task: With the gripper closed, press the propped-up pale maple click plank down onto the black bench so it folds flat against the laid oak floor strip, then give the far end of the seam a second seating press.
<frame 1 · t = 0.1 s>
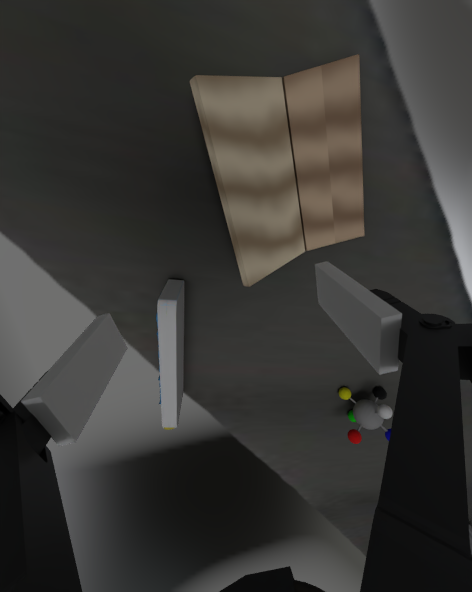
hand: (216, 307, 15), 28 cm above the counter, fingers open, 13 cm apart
floor strip: (292, 176, 38), on the counter
molecular model: (356, 396, 60), on the counter
plank: (261, 187, 34), point 5 cm above the counter, hinge at 38.0°
decorative sign: (174, 350, 50), on the counter
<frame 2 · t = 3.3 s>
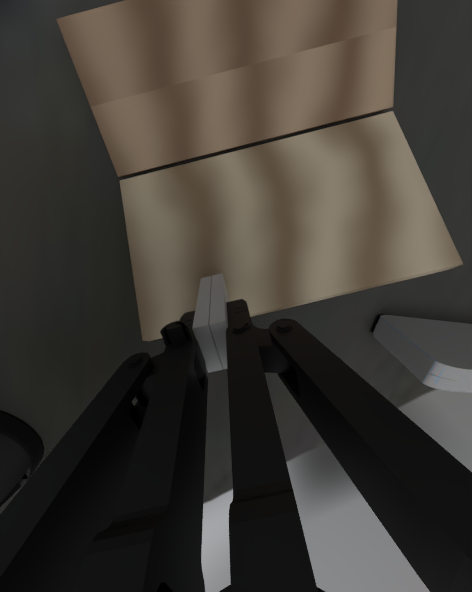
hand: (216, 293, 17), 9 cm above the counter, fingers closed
floor strip: (252, 148, 22), on the counter
plank: (275, 222, 20), point 5 cm above the counter, hinge at 37.2°, touching gripper
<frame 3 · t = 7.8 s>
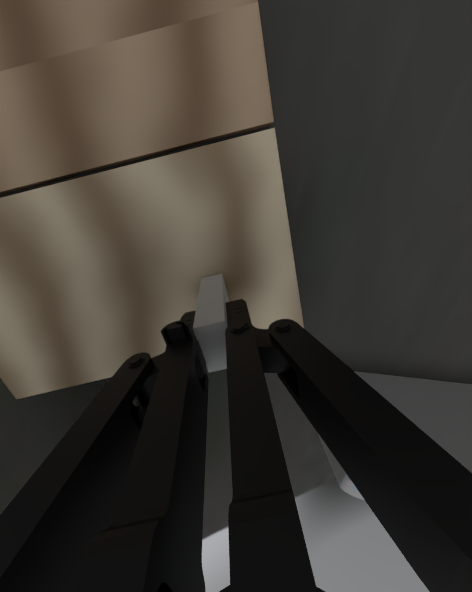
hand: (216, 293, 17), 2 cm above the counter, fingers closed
floor strip: (87, 178, 16), on the counter
plank: (127, 283, 18), point 1 cm above the counter, hinge at 3.9°, touching gripper
decorative sign: (435, 392, 27), on the counter
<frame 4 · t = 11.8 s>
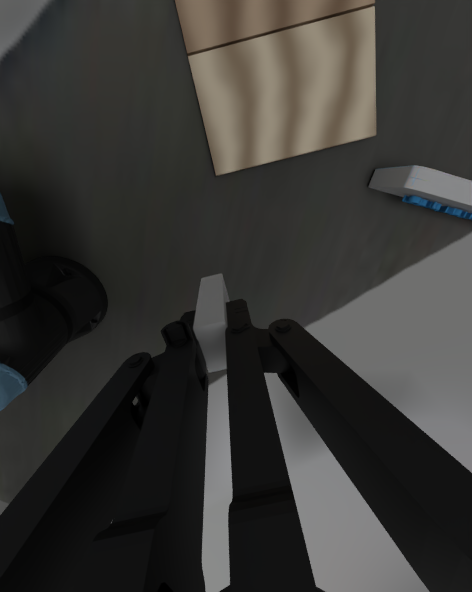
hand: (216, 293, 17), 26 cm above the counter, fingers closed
floor strip: (278, 36, 32), on the counter
plank: (287, 100, 34), point 1 cm above the counter, hinge at 3.4°
decorative sign: (448, 204, 43), on the counter
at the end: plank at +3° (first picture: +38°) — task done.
